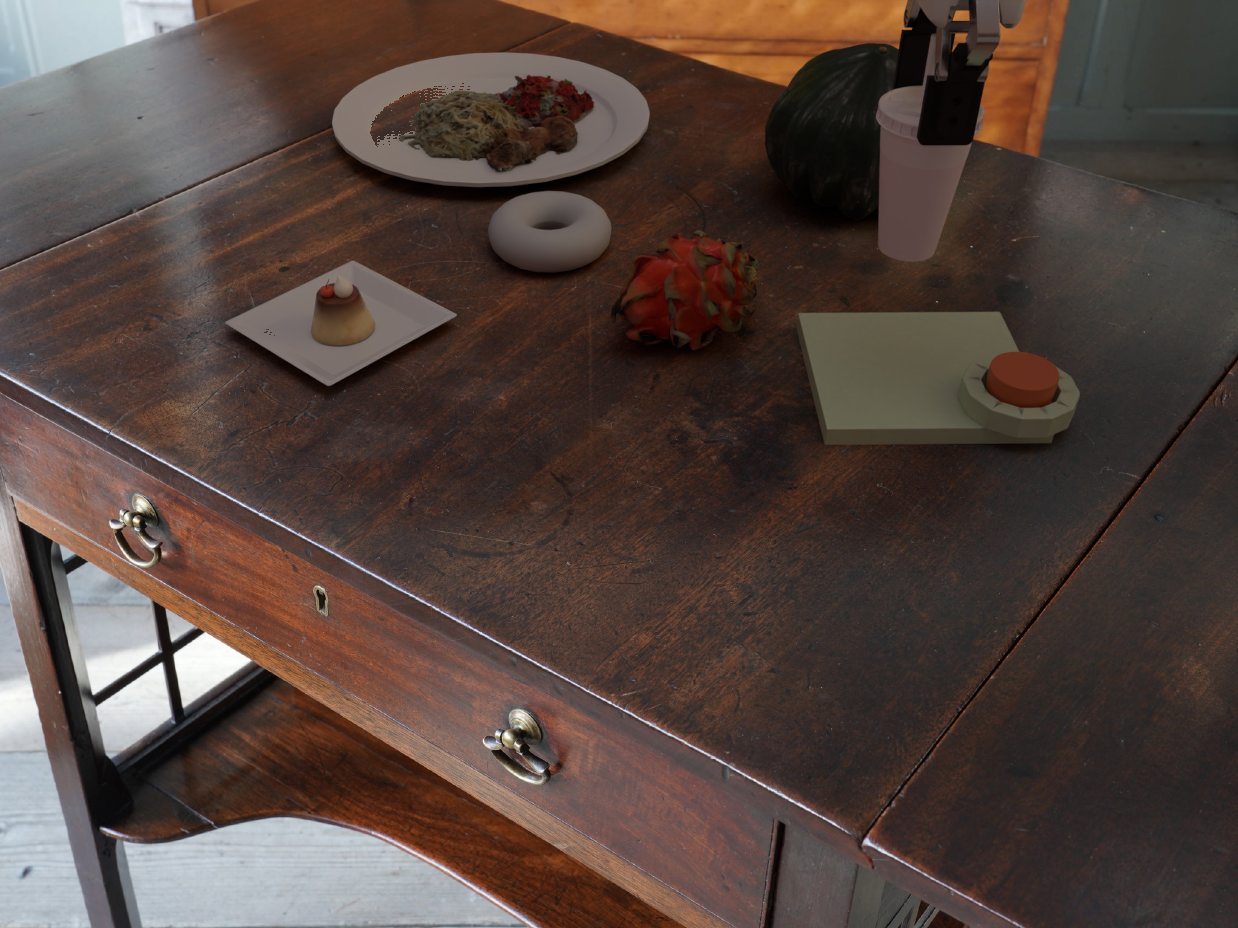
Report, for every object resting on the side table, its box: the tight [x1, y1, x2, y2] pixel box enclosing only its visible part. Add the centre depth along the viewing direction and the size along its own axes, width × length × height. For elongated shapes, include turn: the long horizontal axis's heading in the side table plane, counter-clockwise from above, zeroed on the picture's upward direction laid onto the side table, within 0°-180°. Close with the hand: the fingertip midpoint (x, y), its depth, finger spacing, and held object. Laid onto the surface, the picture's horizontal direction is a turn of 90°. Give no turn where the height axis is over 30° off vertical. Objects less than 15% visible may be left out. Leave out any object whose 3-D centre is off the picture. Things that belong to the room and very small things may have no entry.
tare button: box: [986, 351, 1059, 408], centre depth 80 cm, size 4×4×2 cm
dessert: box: [224, 260, 458, 387], centre depth 88 cm, size 12×12×5 cm
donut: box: [487, 190, 613, 274], centre depth 98 cm, size 10×4×10 cm
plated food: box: [331, 52, 651, 188], centre depth 116 cm, size 30×30×3 cm
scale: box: [795, 311, 1081, 446], centre depth 84 cm, size 17×15×3 cm
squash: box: [764, 42, 899, 221], centre depth 103 cm, size 14×15×15 cm
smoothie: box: [876, 34, 985, 263], centre depth 75 cm, size 6×6×14 cm
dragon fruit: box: [610, 229, 759, 351], centre depth 88 cm, size 8×8×12 cm
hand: (930, 115), depth 74 cm, fingers closed on smoothie, 6 cm apart
